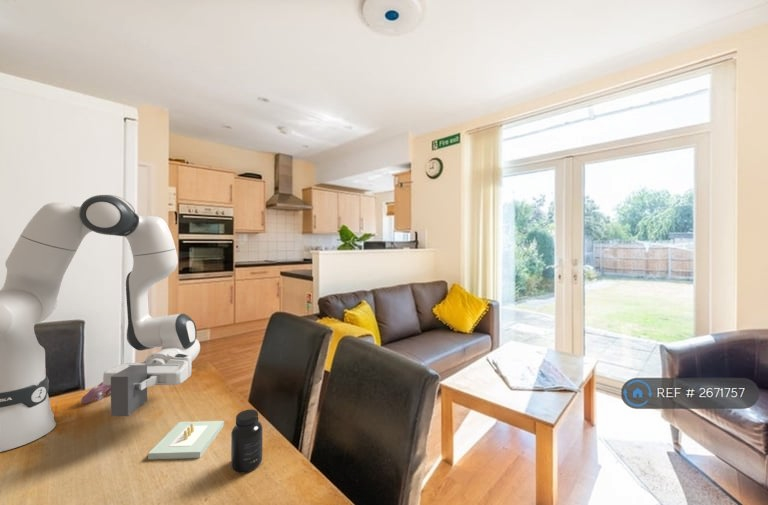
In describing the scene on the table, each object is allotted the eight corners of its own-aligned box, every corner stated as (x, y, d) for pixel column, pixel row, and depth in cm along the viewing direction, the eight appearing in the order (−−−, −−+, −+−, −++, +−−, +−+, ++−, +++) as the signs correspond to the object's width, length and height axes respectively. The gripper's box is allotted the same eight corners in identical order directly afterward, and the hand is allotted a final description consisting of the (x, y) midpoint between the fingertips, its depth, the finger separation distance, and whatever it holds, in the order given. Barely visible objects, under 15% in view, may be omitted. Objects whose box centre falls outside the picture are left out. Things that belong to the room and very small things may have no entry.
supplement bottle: (226, 464, 74) (225, 414, 73) (253, 450, 79) (253, 403, 79) (239, 479, 69) (239, 426, 69) (268, 462, 75) (268, 413, 74)
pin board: (148, 459, 75) (148, 444, 75) (179, 427, 88) (179, 414, 88) (200, 457, 76) (200, 442, 76) (223, 426, 89) (223, 413, 89)
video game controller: (88, 410, 98) (96, 391, 98) (78, 402, 99) (85, 384, 98) (120, 395, 108) (127, 378, 107) (110, 388, 109) (117, 371, 108)
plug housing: (111, 416, 78) (110, 376, 77) (131, 401, 85) (131, 365, 84) (128, 415, 78) (127, 376, 78) (147, 401, 85) (147, 365, 85)
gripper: (125, 355, 93) (84, 375, 79) (196, 355, 95) (168, 375, 81) (125, 376, 93) (84, 399, 80) (196, 376, 95) (168, 399, 81)
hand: (127, 387), depth 80 cm, fingers closed on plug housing, 4 cm apart
